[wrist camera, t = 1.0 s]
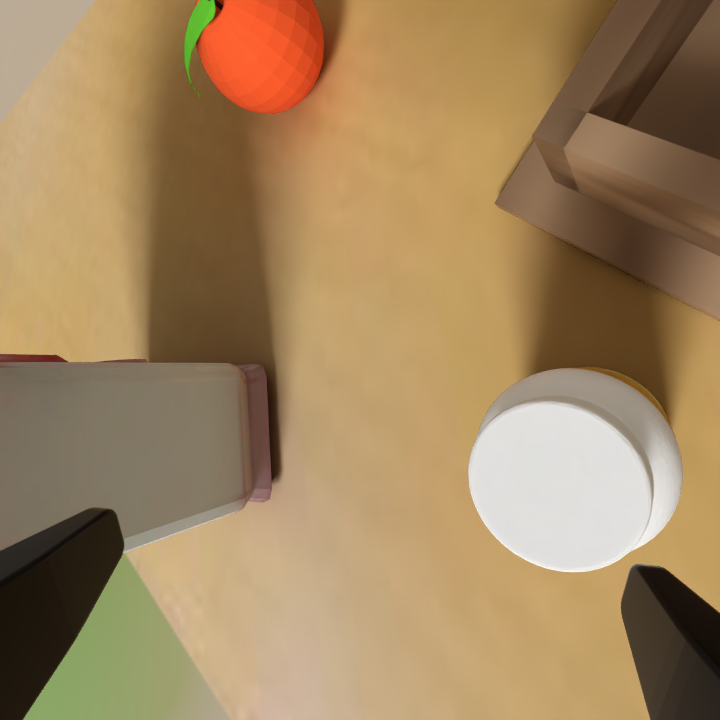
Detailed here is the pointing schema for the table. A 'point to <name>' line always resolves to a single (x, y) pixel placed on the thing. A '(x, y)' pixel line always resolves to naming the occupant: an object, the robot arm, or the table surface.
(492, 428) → the supplement bottle
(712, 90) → the u rest
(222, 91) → the clementine
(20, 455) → the bottle
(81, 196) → the table surface
